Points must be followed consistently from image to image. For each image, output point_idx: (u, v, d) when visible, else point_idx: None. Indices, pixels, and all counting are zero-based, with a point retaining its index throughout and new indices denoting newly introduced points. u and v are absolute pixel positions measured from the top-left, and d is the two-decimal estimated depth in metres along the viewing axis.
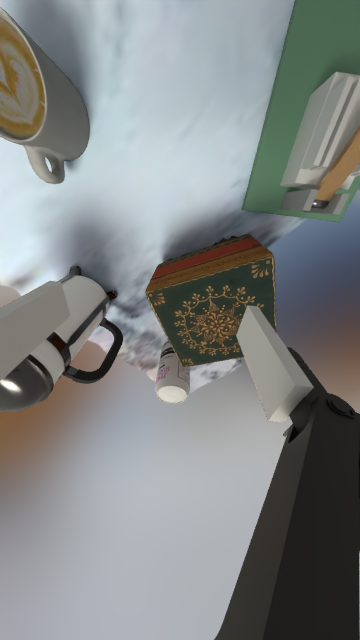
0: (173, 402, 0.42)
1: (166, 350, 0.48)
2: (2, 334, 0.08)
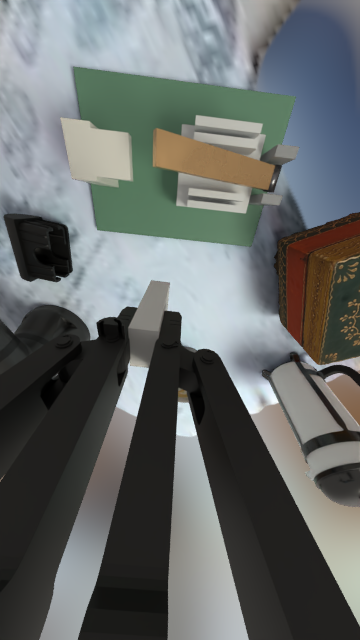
0: None
1: None
2: None
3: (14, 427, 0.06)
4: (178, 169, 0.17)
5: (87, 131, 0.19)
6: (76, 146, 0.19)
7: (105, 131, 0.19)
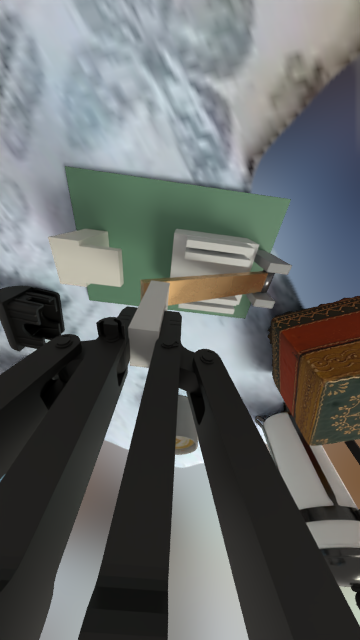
0: None
1: None
2: None
3: (14, 427, 0.06)
4: None
5: (76, 248, 0.18)
6: (64, 259, 0.19)
7: (94, 249, 0.18)
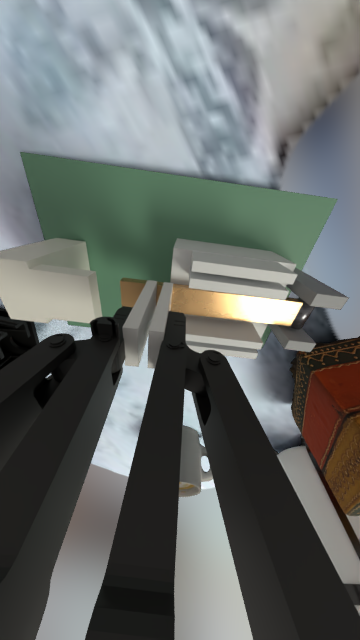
0: None
1: None
2: (144, 321, 0.10)
3: (8, 427, 0.06)
4: None
5: (24, 272, 0.12)
6: (11, 287, 0.13)
7: (52, 273, 0.12)
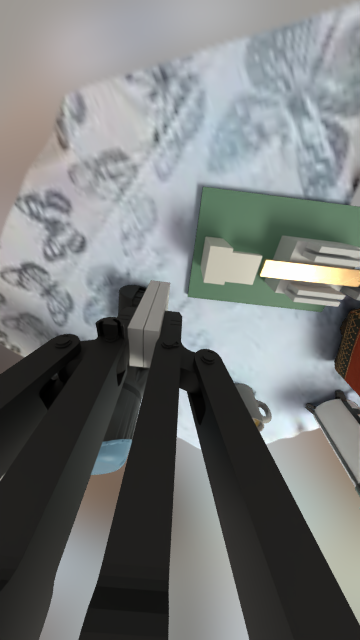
0: None
1: None
2: None
3: (13, 427, 0.06)
4: (275, 277, 0.26)
5: (229, 254, 0.23)
6: (216, 263, 0.24)
7: (244, 255, 0.23)
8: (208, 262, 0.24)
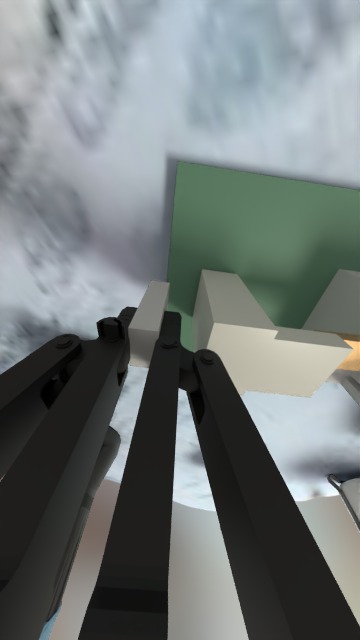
0: None
1: None
2: None
3: (14, 427, 0.06)
4: None
5: (264, 342, 0.08)
6: (227, 358, 0.09)
7: (304, 345, 0.08)
8: None
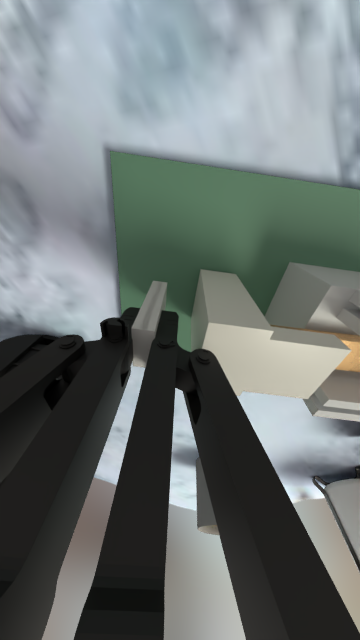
0: None
1: None
2: None
3: (18, 427, 0.06)
4: None
5: (260, 342, 0.08)
6: (223, 358, 0.09)
7: (300, 345, 0.08)
8: None
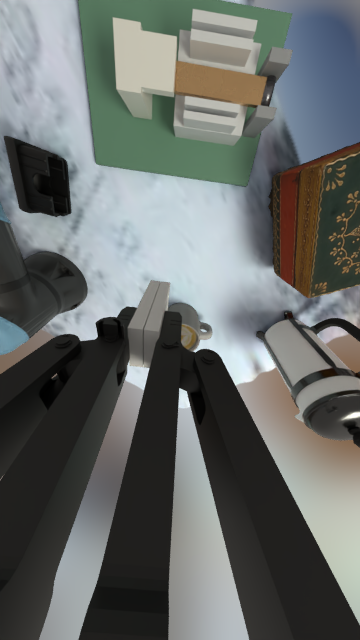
0: None
1: None
2: None
3: (13, 427, 0.06)
4: None
5: (137, 33, 0.19)
6: (124, 51, 0.20)
7: (154, 34, 0.19)
8: (115, 50, 0.20)
